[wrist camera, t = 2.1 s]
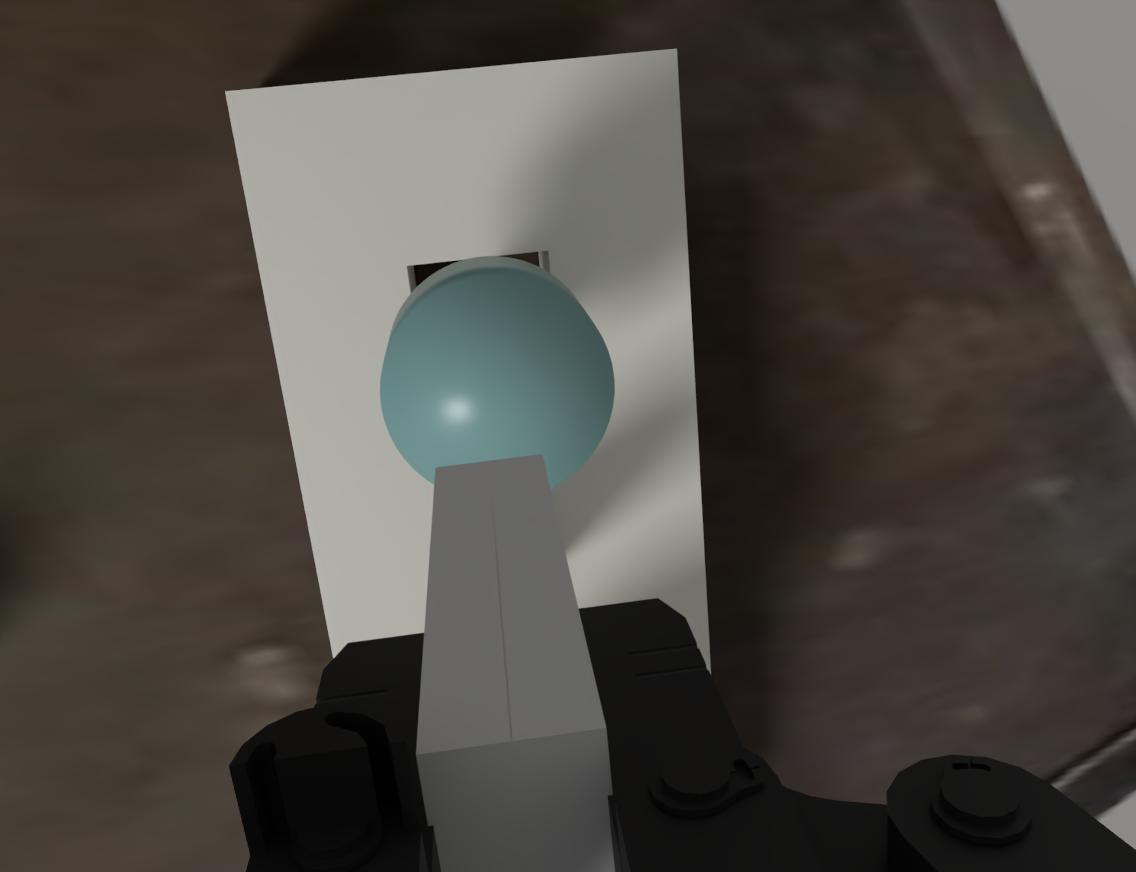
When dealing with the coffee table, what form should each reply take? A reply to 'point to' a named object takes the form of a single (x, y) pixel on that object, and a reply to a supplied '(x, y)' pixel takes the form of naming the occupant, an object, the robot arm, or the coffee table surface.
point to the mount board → (467, 230)
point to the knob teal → (495, 370)
